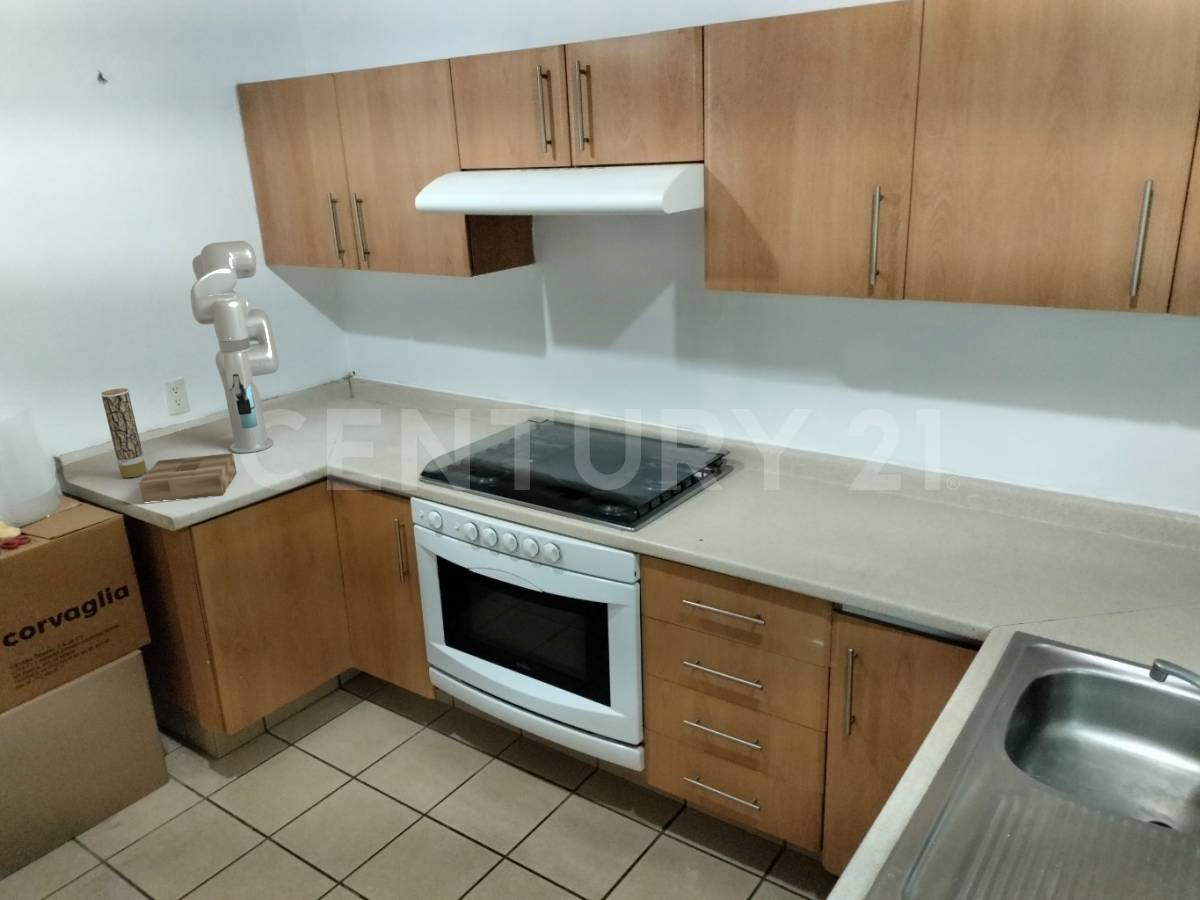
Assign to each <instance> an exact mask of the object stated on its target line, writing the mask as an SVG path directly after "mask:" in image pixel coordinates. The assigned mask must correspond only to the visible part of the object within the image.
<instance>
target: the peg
mask: <svg viewBox="0 0 1200 900" xmlns="http://www.w3.org/2000/svg"><path fill="white" fill-rule="evenodd" d="M241 388H243V386H240V389H241ZM246 390H247V397H248V399H249V401H250V406H251V412H252V413H251V414H244V415H240V419H241V424H242V428H253V427H256V426H257V425H258V424H257V419H256V413H255V407H254V402H253V397H252V392H251V386H250V385H249V386H248V388H246ZM241 392H243V393H244V391H241Z"/></svg>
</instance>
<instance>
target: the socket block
mask: <svg viewBox="0 0 1200 900" xmlns="http://www.w3.org/2000/svg"><path fill="white" fill-rule="evenodd" d="M237 474H238V473H237V466H236V462H235V458H234V452H232V453H230V452H229V453H220V454H211V455H200V456H190V457H181V458H180V457H179V458H173V459H163V460H162V459H161V460H158V461H157V462H156V463H155V464H154V465H153V466H152V467H151V469H149V471H148V472H146V473H145V474H144V476H143V477H142V479H141V480H140V481H139V482H138V484H139V485H138V486H139V489H140V493H141V497H142V500H143V501H142V502H143V503H144V502H151V501H163V500H176V499H185V500H191V499H190V498H194V499H200V498H199V497H204V498H209V497H208V496H213V497H220V496H221V495H222V496H224V495H225V493H226V492H227V490H228V488H229V487H230V485H231V483H232V481H233V480H234V478H235V477H236V475H237ZM234 476H235V477H234ZM229 484H230V485H229ZM226 489H227V490H226ZM223 494H224V495H223ZM176 501H177V500H176Z"/></svg>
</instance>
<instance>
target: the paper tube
mask: <svg viewBox="0 0 1200 900" xmlns="http://www.w3.org/2000/svg"><path fill="white" fill-rule="evenodd" d="M130 397H131V396H130V392H129V389H128V388H114V389H109V390H105V391H102V392H101V400H102V403H103V408H104V411H105V416H106V420H107V424H108V428H109V433H110V437H111V440H112V444H113V449H114V454H115V457H116V461H117V465H118V469H119V472H120V477H122V478H123V477H126V478H125V479H129V478H128V477H135V478H138V477H137V476H139V477H141V476H140V475H142V476H143V474H144V475H146V474H147V467H146V461H145V458H144V454H143V449H142V445H141V440H140V436H139V431H138V427H137V423H136V418H135V415H134V409H133V406H132V402H131V398H130Z"/></svg>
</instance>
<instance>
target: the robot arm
mask: <svg viewBox="0 0 1200 900" xmlns="http://www.w3.org/2000/svg"><path fill="white" fill-rule="evenodd" d="M191 263H192V264H191V265H192V269H193V274H194V276H195V278H196V281H195V282H194V283H193V285H192V287H191V289H190V303H191V310H192V315H193V318H194V319H195V320H196V322H197V323H198V324H200V325H213V327H214V331H215V334H216V335H215V336H216V338H217V341H218V346H219V351H218V352H217V353H216V354H215V365H216V368H217V370H218V374H219V376H220V379H221V382H222V386H223V390H224V395H225V400H226V404H227V410H228V414H229V415H228V416H229V420H230V424H231V431H232V435H233V440H234V442H233V443H231V445H230V446H229V449H230V452H232V453H235V454H248V453H254V452H259V451H263V450H266V449H269V448H270V447H272V446H273V445H274V439H273V438H271V437H268V434H267V429H266V425H265V424H266V423H265V417H264V414H263V408H262V401H261V396H260V391H259V389H258V388H257V386H256V385H255V384H254V383H253V377H257V376H264V375H270V374H274V373H276V372H277V371H278V370H279V357H278V352H277V347H276V342H275V338H274V332H273V328H272V324H271V320H270V318H269V315H268V313H267V312H266V311H265V310H264V309H260V308H252V309H251V304H250V301H249V298H248V297H247V296H246V295H245V294H243V293H240V292H236V291H235V290H234V288H235V287H236V285H237V284H238V280H241V279H248V278H249V279H250V278H253V277H254V276H255V275H256V272H257V256H256V253H255V250H254V248H253V246H252V245H251V244H250V243H249V242H248V241H246V240H233V241H232V240H230V241H222V242H221V241H219V242H212V243H209V244H207V245H205V246H204V247H203V248H202V250H201V252H200V254H198V255H196V256H194V258H193V259H192V262H191ZM250 342H257V343H254V344H250ZM249 385H250V386H251V392H252V397H253V402H254V407H255V413H256V419H257V424H258V425H257V426H256V427H253V428H242V424H241V419H240V415H244V414H251V413H252V412H251V406H250V401H249V399H248V397H247V390H246V388H248V386H249ZM240 386H243V388H241V389H240ZM241 391H244V393H243V392H241Z"/></svg>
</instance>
